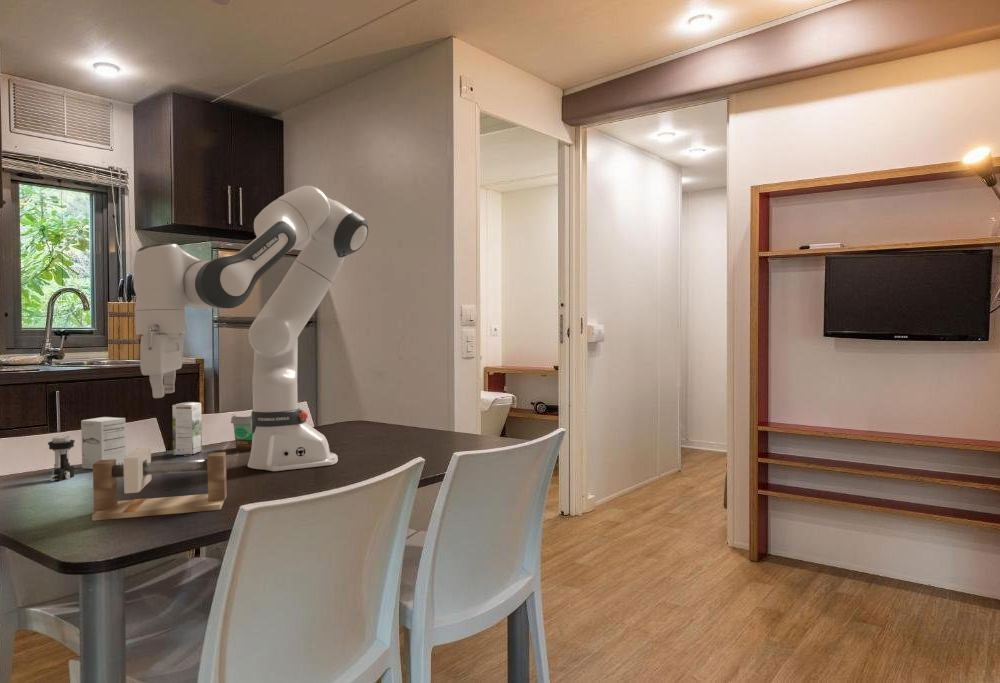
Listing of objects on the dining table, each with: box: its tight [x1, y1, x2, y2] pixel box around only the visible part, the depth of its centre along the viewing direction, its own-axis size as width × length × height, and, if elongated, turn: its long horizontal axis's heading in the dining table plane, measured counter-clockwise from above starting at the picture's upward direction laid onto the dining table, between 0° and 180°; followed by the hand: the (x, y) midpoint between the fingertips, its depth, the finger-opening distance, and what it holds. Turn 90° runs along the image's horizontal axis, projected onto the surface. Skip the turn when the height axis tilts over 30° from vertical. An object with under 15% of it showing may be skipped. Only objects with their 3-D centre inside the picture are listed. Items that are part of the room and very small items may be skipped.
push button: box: [47, 435, 75, 482], centre depth 158 cm, size 7×5×10 cm
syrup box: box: [171, 401, 203, 456], centre depth 188 cm, size 6×6×14 cm
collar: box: [123, 447, 152, 494], centre depth 129 cm, size 2×11×7 cm, turn 17°
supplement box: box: [80, 416, 127, 470], centre depth 172 cm, size 7×7×13 cm
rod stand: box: [91, 451, 228, 521], centre depth 130 cm, size 23×10×10 cm, turn 107°
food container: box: [230, 413, 253, 452], centre depth 194 cm, size 12×6×10 cm, turn 80°
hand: (164, 395), depth 131 cm, fingers open, 8 cm apart
